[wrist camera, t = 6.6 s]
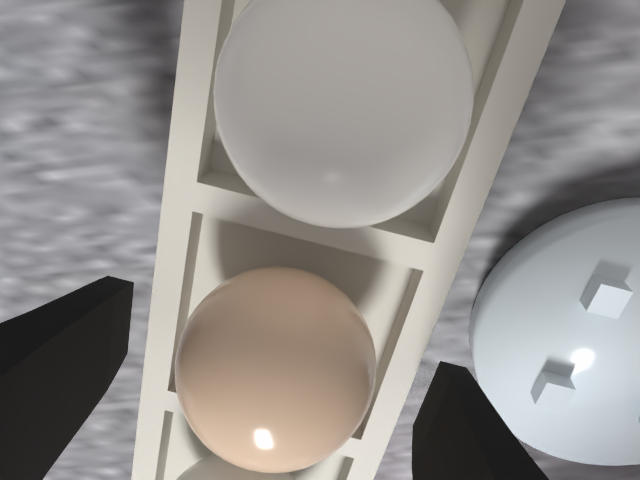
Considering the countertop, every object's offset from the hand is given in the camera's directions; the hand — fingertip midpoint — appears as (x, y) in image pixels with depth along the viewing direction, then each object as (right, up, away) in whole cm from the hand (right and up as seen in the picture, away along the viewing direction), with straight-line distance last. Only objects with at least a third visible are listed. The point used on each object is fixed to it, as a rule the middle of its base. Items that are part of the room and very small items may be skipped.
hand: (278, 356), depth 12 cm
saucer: (+9, 0, +3) cm, 10 cm away
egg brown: (0, +1, +2) cm, 2 cm away
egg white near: (+2, +6, -1) cm, 6 cm away
